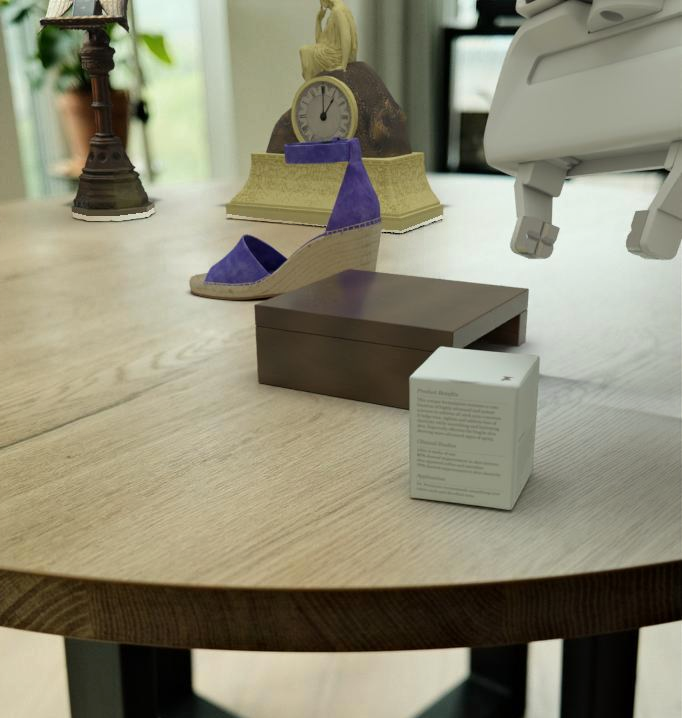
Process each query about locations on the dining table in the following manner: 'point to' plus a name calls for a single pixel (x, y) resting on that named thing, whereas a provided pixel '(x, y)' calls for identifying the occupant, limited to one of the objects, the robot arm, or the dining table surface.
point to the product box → (472, 426)
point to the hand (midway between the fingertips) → (583, 256)
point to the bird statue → (101, 112)
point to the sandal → (318, 256)
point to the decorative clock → (345, 120)
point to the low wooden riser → (377, 331)
